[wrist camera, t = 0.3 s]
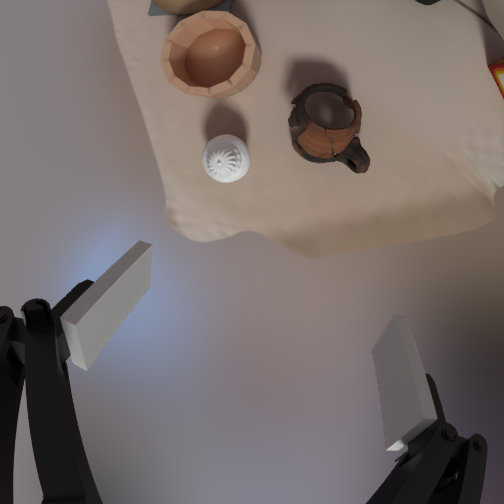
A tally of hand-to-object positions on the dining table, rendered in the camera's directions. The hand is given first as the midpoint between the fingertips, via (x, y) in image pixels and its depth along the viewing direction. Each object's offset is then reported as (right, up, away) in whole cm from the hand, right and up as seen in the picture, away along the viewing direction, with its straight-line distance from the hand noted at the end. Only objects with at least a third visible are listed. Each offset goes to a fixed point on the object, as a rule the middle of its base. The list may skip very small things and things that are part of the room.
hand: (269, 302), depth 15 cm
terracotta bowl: (-5, +28, +18) cm, 33 cm away
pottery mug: (+9, +18, +20) cm, 29 cm away
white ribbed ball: (-3, +16, +24) cm, 29 cm away
